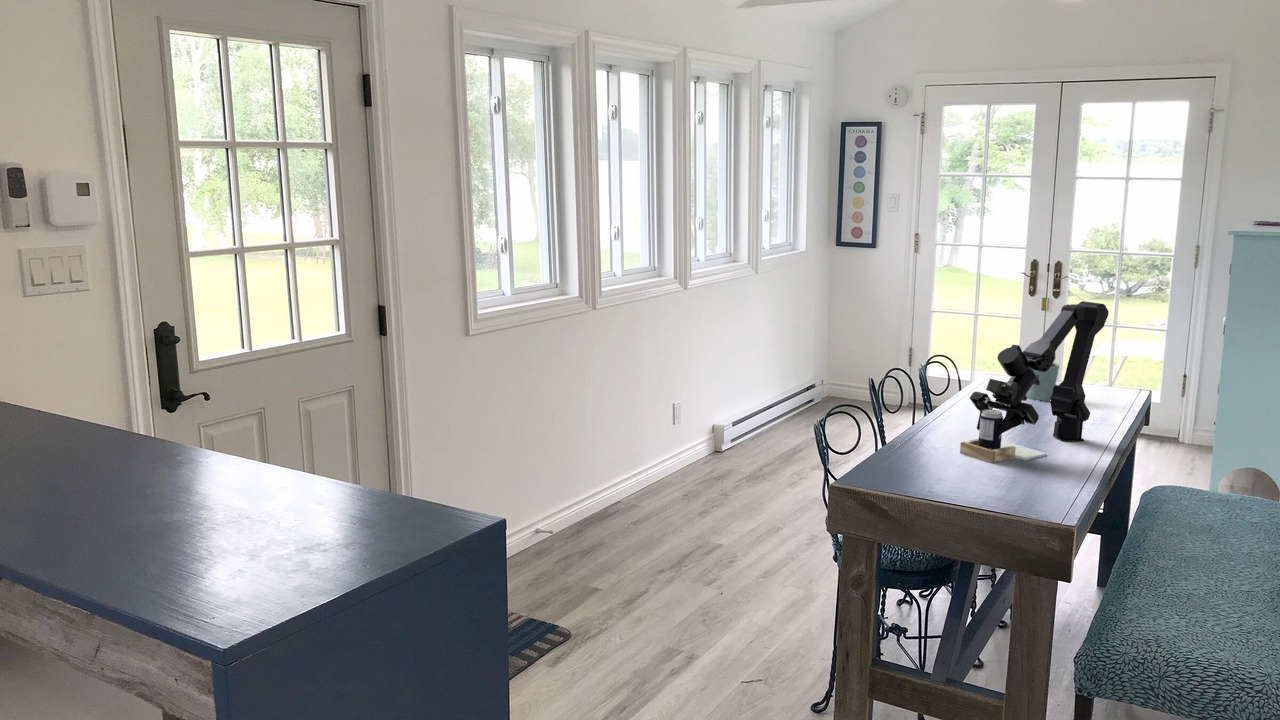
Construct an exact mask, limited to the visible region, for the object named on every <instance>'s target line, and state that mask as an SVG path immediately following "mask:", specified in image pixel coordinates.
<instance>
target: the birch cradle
mask: <svg viewBox="0 0 1280 720" xmlns="http://www.w3.org/2000/svg"><path fill="white" fill-rule="evenodd" d="M978 441H979V438H976V439H971V440H965V441H961V442H960V445H959V446H960V448H959V454H961V455H966V456H969V457H971V458H975V459H978V460H981V461H984V460H985V462H987V461H988V463H990V462H993V463H997V462H996V461H998V462H1002V461H1001V460H1003V461H1006V459H1007V460H1012V459H1015V450H1016V447H1014V446H1009V447H1004V448H999V449H994V450H990V449H987V448H983V447H980V446H978ZM1011 458H1012V459H1011Z"/></svg>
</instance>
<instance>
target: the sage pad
mask: <svg viewBox="0 0 1280 720" xmlns="http://www.w3.org/2000/svg"><path fill="white" fill-rule="evenodd" d="M1009 446H1014V447H1016V450H1015V457H1016V459H1020V460H1022V459H1023V461H1028V460H1032V459H1037V458H1041V457H1042V456H1043V457H1047V456H1048V455H1047V454H1048V453H1046V452H1043V451H1040V450H1036V449H1032V448H1029V447H1026V446H1022V445H1018V444H1015V443H1011V442H1008V441H1005V440H1001V448H1004V447H1009Z"/></svg>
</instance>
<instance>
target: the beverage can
mask: <svg viewBox="0 0 1280 720" xmlns="http://www.w3.org/2000/svg"><path fill="white" fill-rule="evenodd" d="M1003 419H1004V416H1003V412H1002V410H999V409H992V410H991V409H987V410H983V411H982V414H981V416H980V428H979V430H978V439H979V441H978V446H980V447H983V448H987V449H990V450H994V449H999V448H1001V441H1002V435H1003V433H1002V434H1000V435H998V436H997V435H996V434H995V432H996V430H997V428H998V427H999V425H1000V424H1001V422H1002V421H1003Z"/></svg>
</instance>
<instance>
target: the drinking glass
mask: <svg viewBox="0 0 1280 720" xmlns="http://www.w3.org/2000/svg"><path fill="white" fill-rule="evenodd" d="M1059 369H1060V364H1058V363H1056V362H1053V364H1052V365H1051V367H1050V369H1049V370H1048V371H1046V372H1040V371H1035V370H1033V371H1034V373H1035V374H1036V375H1039V381H1040V384H1039V385H1034V384H1033V385H1032V387H1031V388H1030V390H1029V391H1028V392H1027V394H1026V397H1027V399H1028V398H1029V400H1031V399H1033V400H1032V401H1036V400H1042V401H1041V402H1050V400H1051V399H1050V397H1051V396H1052V393H1053V387H1054V386H1055V385H1057V379H1058V375H1059Z"/></svg>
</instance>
